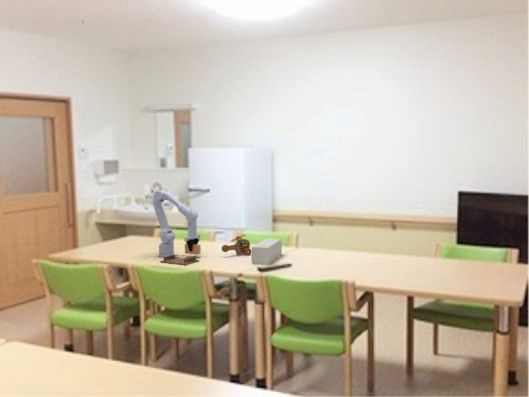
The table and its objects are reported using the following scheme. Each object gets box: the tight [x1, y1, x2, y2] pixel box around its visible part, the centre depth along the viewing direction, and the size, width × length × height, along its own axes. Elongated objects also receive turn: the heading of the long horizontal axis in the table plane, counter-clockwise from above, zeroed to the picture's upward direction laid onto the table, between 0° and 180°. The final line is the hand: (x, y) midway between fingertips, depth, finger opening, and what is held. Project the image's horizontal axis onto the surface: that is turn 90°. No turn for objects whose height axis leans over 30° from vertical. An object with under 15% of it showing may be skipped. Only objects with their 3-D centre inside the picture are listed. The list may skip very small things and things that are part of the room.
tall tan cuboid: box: [184, 243, 202, 256], centre depth 367 cm, size 10×4×6 cm, turn 60°
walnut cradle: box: [159, 254, 200, 267], centre depth 354 cm, size 20×14×3 cm
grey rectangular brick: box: [250, 238, 283, 266], centre depth 359 cm, size 32×11×11 cm, turn 164°
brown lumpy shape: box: [221, 234, 252, 257], centre depth 370 cm, size 8×21×14 cm, turn 123°
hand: (192, 250), depth 367 cm, fingers closed on tall tan cuboid, 3 cm apart
